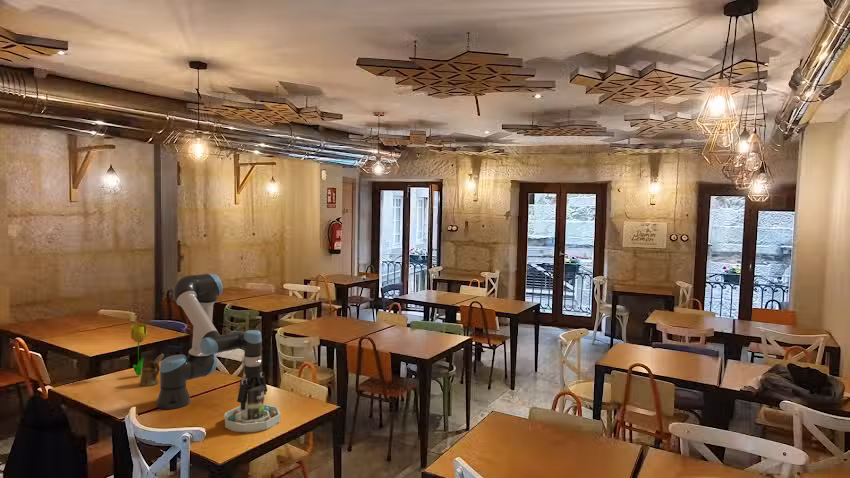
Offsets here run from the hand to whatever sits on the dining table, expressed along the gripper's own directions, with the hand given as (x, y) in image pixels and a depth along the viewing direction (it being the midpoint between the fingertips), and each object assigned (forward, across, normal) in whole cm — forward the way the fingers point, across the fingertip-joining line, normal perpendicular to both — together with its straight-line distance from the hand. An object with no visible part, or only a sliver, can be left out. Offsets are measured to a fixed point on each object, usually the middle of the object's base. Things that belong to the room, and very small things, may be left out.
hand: (252, 412), depth 252 cm
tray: (+5, 0, 0) cm, 5 cm away
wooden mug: (+5, +16, +84) cm, 86 cm away
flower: (+5, +22, +102) cm, 104 cm away
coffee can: (+2, 0, 0) cm, 2 cm away
